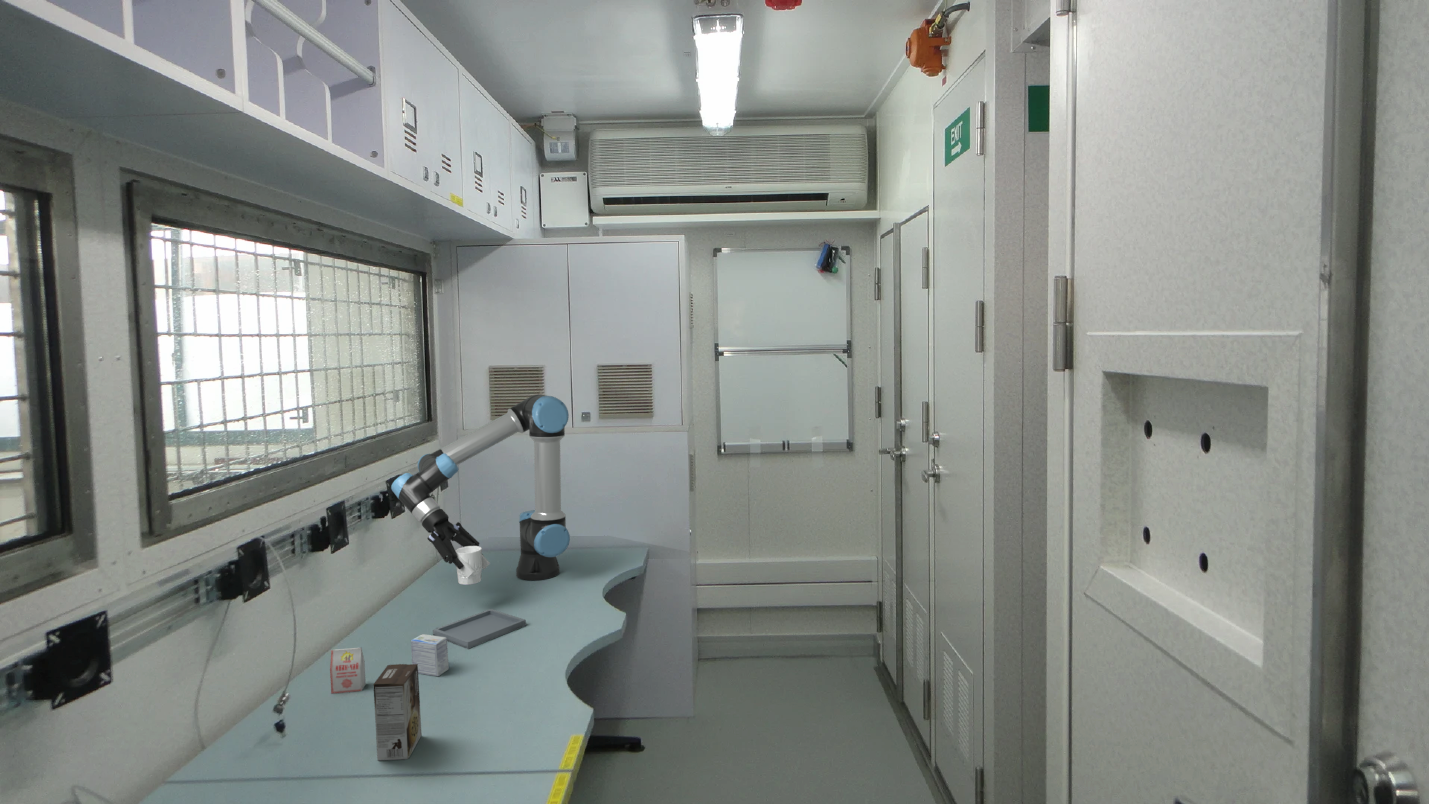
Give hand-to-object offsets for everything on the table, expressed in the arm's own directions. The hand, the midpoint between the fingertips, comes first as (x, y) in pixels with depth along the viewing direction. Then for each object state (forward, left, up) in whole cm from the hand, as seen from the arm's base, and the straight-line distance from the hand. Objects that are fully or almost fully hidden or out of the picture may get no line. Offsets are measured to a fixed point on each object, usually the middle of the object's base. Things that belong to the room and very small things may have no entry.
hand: (479, 570), depth 230 cm
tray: (+8, +11, -14) cm, 19 cm away
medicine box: (+32, +23, -14) cm, 42 cm away
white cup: (+1, -3, -4) cm, 5 cm away
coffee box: (+57, +50, -14) cm, 77 cm away
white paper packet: (+49, +15, -14) cm, 53 cm away
